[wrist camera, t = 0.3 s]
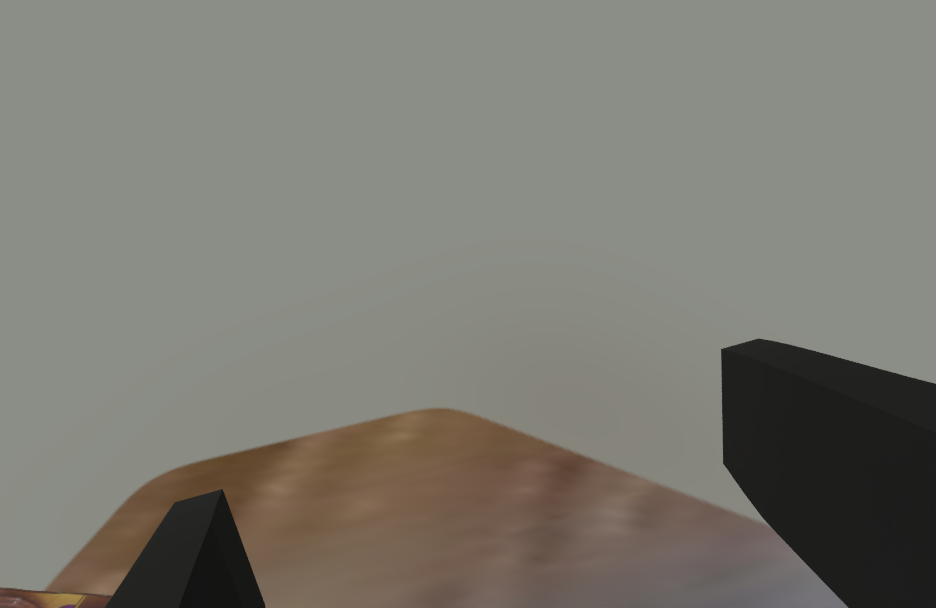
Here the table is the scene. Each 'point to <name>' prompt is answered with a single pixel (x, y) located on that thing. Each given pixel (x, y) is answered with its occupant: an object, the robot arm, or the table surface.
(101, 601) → the candy box
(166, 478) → the table surface
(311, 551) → the table surface
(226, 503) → the robot arm
